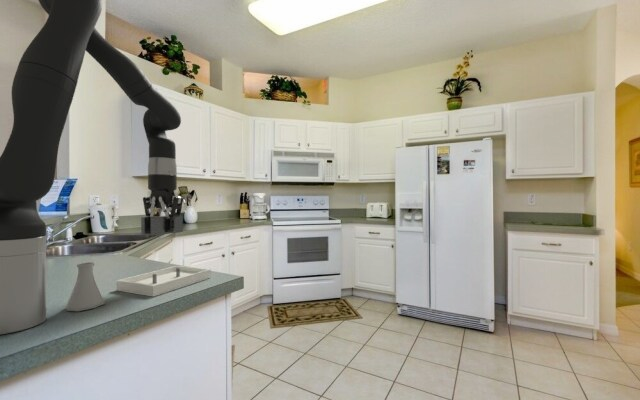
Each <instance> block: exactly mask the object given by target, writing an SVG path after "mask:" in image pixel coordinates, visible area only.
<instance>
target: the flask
mask: <svg viewBox="0 0 640 400" xmlns="http://www.w3.org/2000/svg"><path fill="white" fill-rule="evenodd" d="M94 266H95V263H94V261H93V262H90V261H89V262H81V263H77V264H76V267H77V268H78V269H77V270H78V271H77V272H78V273H77V278H76V281H75V283H74V286H73V289H72V292H71V294H70V296H69V299H68V301H67V303H66V305H65V310H66V311H67V312H69V311H70V312H81V311H86V310H91V309H95V308H98V307H100V306H102V305H106V303H105V300H104V298H103V296H102V293H101V292H100V289H99V287H98V285H97V283H96V281H95V275H94V269H93V267H94Z"/></svg>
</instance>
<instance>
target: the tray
mask: <svg viewBox="0 0 640 400" xmlns="http://www.w3.org/2000/svg"><path fill="white" fill-rule="evenodd" d="M208 278H209V279H211V268H201V267H193V266H192V267H191V266H183V265H174V266H169V267H166V268H162V269H158V270H154V271H150V272H146V273H141V274H138V275H134V276H129V277H125V278H120V279H117V280H115V281H116V283H115V285H116V291H118V292H124V293H125V292H126V293H131V294H137V295H141V296H147V297H156V296H159V295H163V294H165V293H168V292H172V291H174V290H179V289H181V288H184V287H187V286H190V285H192V284H193V285H194V284H196V283H200V282H202V281H206V280H208Z"/></svg>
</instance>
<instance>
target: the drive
mask: <svg viewBox="0 0 640 400" xmlns="http://www.w3.org/2000/svg"><path fill="white" fill-rule="evenodd" d="M183 220H184V217H183V215H180V216H179V217H176V218H175V219H174V231H173V232H166V216H165V215H160V216H153V217H148V216H141V219H140V223H141V225H140V226H141V227H140V228H141V230H140V231H141V236H147V235H149V236H160V235H161V236H162V235H169V234H170V235H171V234H176V233H177V234H178V233H183V232H184V231H183V230H184V226H183V225H184V224H183V222H184V221H183Z"/></svg>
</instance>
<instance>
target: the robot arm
mask: <svg viewBox="0 0 640 400" xmlns="http://www.w3.org/2000/svg"><path fill="white" fill-rule="evenodd" d="M37 1H38V2H39V4H40V6H41V8H42V9H43V10H44V11H45V13H47V15H48V16H47V19H46V22H45V23H44V24H43V26H42V27H41V28H40V30H39V32H38V33H37V34H36V36H34V38H33V39H32V41H31V42H30V43H29V44H28V46H27V47H26V49H25V50H24V52H23V54H22V56H21V58H20V60H19V63H18V65H17V68H16V70H15V74H14V77H13V79H12V80H13V81H12V86H11V104H12V112H13V124H12V129H11V131H10V135H9V138H8V140H7V143H6V145H5V147H4V150H3V151H2V153H1V155H0V335H6V334H11V333H15V332H19V331H24V330H27V329H30V328H32V327H35V326H38V325H40V324H43V323H44V322H45V321H47V311H48V309H47V225H46V223H45V221H44V220H42V218H40V215H39V214H38V209H37V207H38V206H37V201H39V200H41V199H43V198H44V197H45V196H47V194H48V193H49V192H50V190H51V189H52V187H53V185H54V182H55V176H56V171H57V169H56V168H57V160H58V153H59V148H60V141H61V137H62V134H63V132H64V128H65V125H66V122H67V118H68V114H69V110H70V108H71V105H72V104H73V103H72V102H73V99H74V96H75V93H76V89H77V86H78V81H79V76H80V72H81V68H82V66H83V62H84V58H85V55H86V52H87V54H89V55H90V56H91V57H92V58H93V59H94V60H95V61H96V62H97V63H98V64H99V65H100V66H101V67H102V68H103V69H104V70H105V72H107V74H108V75H110V77H111V78H112V79H113V81H114V82H115V83H117V85H118V87H119V88H120V89H121V90H122V91H123V92H124V94H125V95H126V96H127V97H128V98H129V100H130V101H131V102H132V103H133V104H135V105H136V106H141V107H145V108H146V109H147V110H145V112H144V114H143V118H142V124H143V129H144V132H145V135H146V139H147V142H148V163H147V184H148V185H147V188H148V190H150V195H149V196H144V197H142V202H143V207H144V213H145V217H153V216H161V214H162V212H163V213H164V216H166V232H173V231H174V219H175V218H176V217H179V216H181V214H182V213H181V212H182V210H183V209H182V208H183V202H184V197H183V196H177V195H176V194H175V191H177V188H178V185H177V184H178V182H177V181H178V180H177V179H178V178H177V177H178V176H177V174H178V173H177V172H178V171H177V161H176V157H177V156H176V142H175V141H174V140H172V139H171V138H168V137H167V133H166V132H168V131H173V130H176V129H178V128H179V127H180V126H181V123H182V118H181V115H180V112H179V110H178V109H177V107H176V106H174V104H173V103H172V102H171V101H169V99H167V98H166V97H165V96H164V95H163V94H162V93H160V92H159V91H158V90H157V89H156V88H155V87H154V86H153V84H152V83H151V81H150V80H149V78H148V77H147V76H146V75H145V73H144V72H143V71H142V70H141V68H140V67H139V66H138V65H137V64H136V63H135V62H134V61H133V60H132V59H130V58H129V57H128V56H126V55H125V53H122V52H121V51H119V49H117V48H116V47H115V46H114V45H112V44H111V43H110V42H109V41H108V40H106V38H104V36H102V35H101V33H100V32H99V31H98V30H97V29H96V24H97V23H98V20H99V18H100V16H101V13H102V10H103V8H102V7H103V1H102V0H37Z"/></svg>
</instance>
